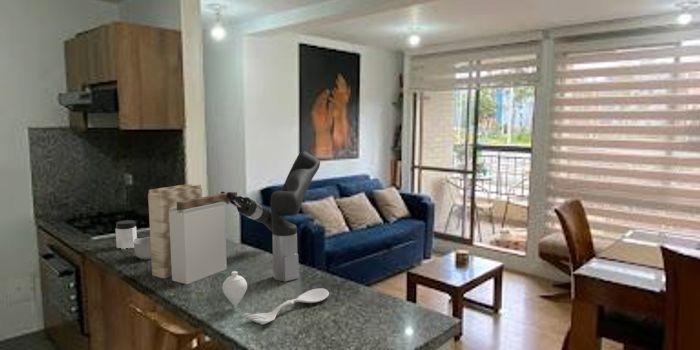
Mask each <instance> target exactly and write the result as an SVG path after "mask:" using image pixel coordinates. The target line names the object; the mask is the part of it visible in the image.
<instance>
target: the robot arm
mask: <svg viewBox="0 0 700 350" xmlns="http://www.w3.org/2000/svg"><path fill="white" fill-rule="evenodd" d="M320 166H321V162H320V160H319V159H318V158H317V157H316V156H314V155H312V154H310V153H309V152H307V151H301V152H300V153H299V154H298V155H297V157H296V158H295V159H294V162H293V164H292V166H291V169H290V170H289V173H288V174H287V177H286V179H285V181H284V183H283V186H282V188H281V190H275V191H274V192H272V194H271V196H270V209H268V208H265V207H264V206H263V205H261V204H260V203H258V202H257V201H255V200H253V199H252V198H250V197H248V196H245V197H243V196H241V195H238V194H237V195H234V194H232V193H230V192H231V191H227V192H225V191H221V192H220V194H223V193H227V196H226V197H227V198H229V199H231V200H232V201H227V202H225V203H226V204H227V205H232V206H233V207H234V208H236V210H237V212H238V213H239V214H240V215H243V216H244V217H247V218H248V219H251V220H253V221H255V222H257V223H262V224H263V225H264V226H265V227H267V229H268V230H270V231H271V233H272V273H273V274H272V277H273V279H274V280H276V281H278V282H281V281H282V282H284V283H285V282H290V281H293V280H297V279H300V278H299V273H300V272H299V271H300V268H299V253H298V226H297V225H296V224H294V223H292V222H290V221H288V220H287V219H285V217H292V216H293V217H294V216H297V215H298V214H299V212H300V211H301V207H302V204H303V201H304V198H305V195H306V193H307V192H308V190H309V188H310V185H311V183H312V181H313V179H314V177H315V175H316V174H317V172H318V170H319V168H320Z"/></svg>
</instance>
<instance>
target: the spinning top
mask: <svg viewBox="0 0 700 350" xmlns="http://www.w3.org/2000/svg"><path fill="white" fill-rule="evenodd" d="M238 273H239V272H238V271H236V270H235V271H234V270H233V271H232V272H231V275H230V276H228V277H226V278H225V280H224V281H223V283H222V286H221V288H222V292H223V293H224V296H225V297H226V298H227V299H228V301H229V302H230V303H231V304H232V305H233V306H234V309H237V306H238V305H239V303H240V302H241V301H242V299H243V297H244V296H245V294H246V291H247V289H248V283H247V281H246V279H245V278H244V277H243V276H242V275H239V274H238Z"/></svg>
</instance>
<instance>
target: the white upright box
mask: <svg viewBox="0 0 700 350" xmlns="http://www.w3.org/2000/svg"><path fill="white" fill-rule="evenodd" d="M169 223H170V244H171V266H172V276H171V281H172V282H173V281H174V282H177V283H182V284H184V285H189V284H191V283H194V282H196V281H199V280H202V279H204V278H207V277H210V276H212V275H214V274H218V273H221V272H222V271H223V272H224V271H226V270H227V269H228V265H227V264H228V263H227V238H226V232H227V231H226V207H225V202H219V203H215V204H210V205H205V206H200V207H195V208H190V209H185V210H182V211H180V210H177V207H174V208H169Z"/></svg>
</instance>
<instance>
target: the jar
mask: <svg viewBox="0 0 700 350" xmlns="http://www.w3.org/2000/svg"><path fill="white" fill-rule="evenodd" d="M115 224H116V225H115V241H116V243H115V244H116V248H117V249H119V248H121V250H127V249H126V248H128V249H134V244H133V242H134V240H135V239H137V238H138V236H137V235H138V234H137V233H138V232H137V231H138V230H137V226H136V221H135V220H132V219H131V220H130V219H125V220H119V221H116V223H115Z"/></svg>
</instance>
